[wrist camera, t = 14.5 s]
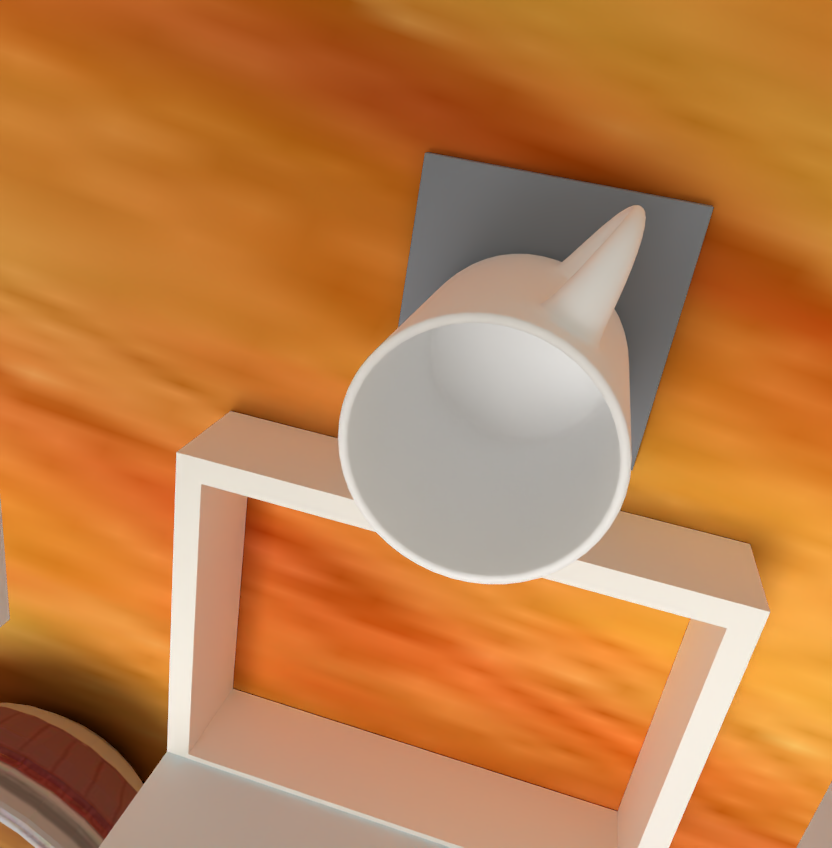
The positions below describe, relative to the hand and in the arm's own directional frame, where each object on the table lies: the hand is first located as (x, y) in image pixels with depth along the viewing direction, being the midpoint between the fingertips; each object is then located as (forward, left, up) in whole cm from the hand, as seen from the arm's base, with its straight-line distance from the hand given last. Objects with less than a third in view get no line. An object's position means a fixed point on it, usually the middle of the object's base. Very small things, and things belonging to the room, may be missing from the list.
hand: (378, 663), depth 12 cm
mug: (0, +1, -22) cm, 22 cm away
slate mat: (0, 0, -22) cm, 22 cm away
